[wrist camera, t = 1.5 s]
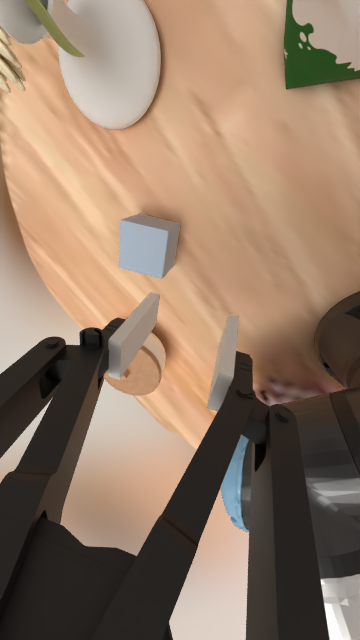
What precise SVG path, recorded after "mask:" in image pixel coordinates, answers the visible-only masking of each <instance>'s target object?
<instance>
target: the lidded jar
mask: <svg viewBox="0 0 360 640" xmlns="http://www.w3.org/2000/svg"><path fill="white" fill-rule="evenodd" d="M165 362H166V354H165V349H164V347H163V344H162V343H161V341H160V340H159V338H158V337H157V336H156V335H155V334H153V333H152V332H151V333H150V334H149V336H148V337H147V339H146V340H145V342H144V343H143V345H142V346H141V348H140V350H139V351H138V353H137V354H136V356H135V357H134V359H133V360H132V362H131V363H130V365H129V366H128V368H127V369H126V371H125V372H124V374H123V375H122V377H121V379H120V380H119V379H115V378H112V377H109V376H108V370H107V371H106V373H105V374H104V379H105V380H106V381H107V382H108V383H109V384H110V385H111V386H113V387H114V388H115V389H117V390H119V391H121V392H123V393H126V394H130V395H138V396H139V395H146V394H149V393H151V392H152V391H154V390H155V389H156V388H157V386H158V385H159V383H160V380H161V377H162V374H163V371H164V368H165Z"/></svg>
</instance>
